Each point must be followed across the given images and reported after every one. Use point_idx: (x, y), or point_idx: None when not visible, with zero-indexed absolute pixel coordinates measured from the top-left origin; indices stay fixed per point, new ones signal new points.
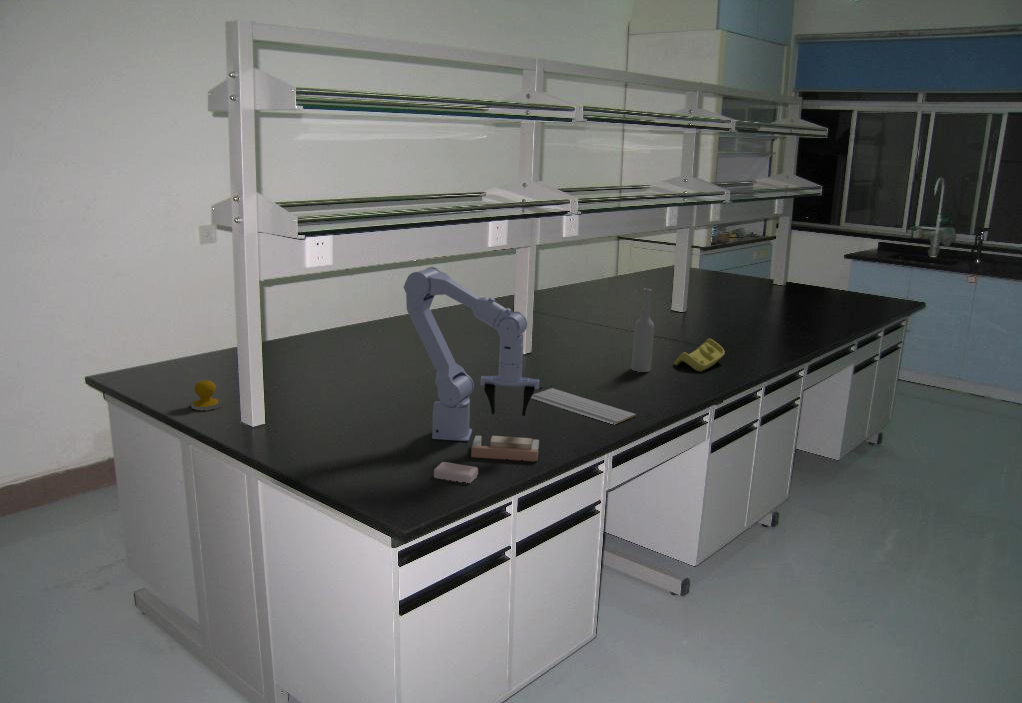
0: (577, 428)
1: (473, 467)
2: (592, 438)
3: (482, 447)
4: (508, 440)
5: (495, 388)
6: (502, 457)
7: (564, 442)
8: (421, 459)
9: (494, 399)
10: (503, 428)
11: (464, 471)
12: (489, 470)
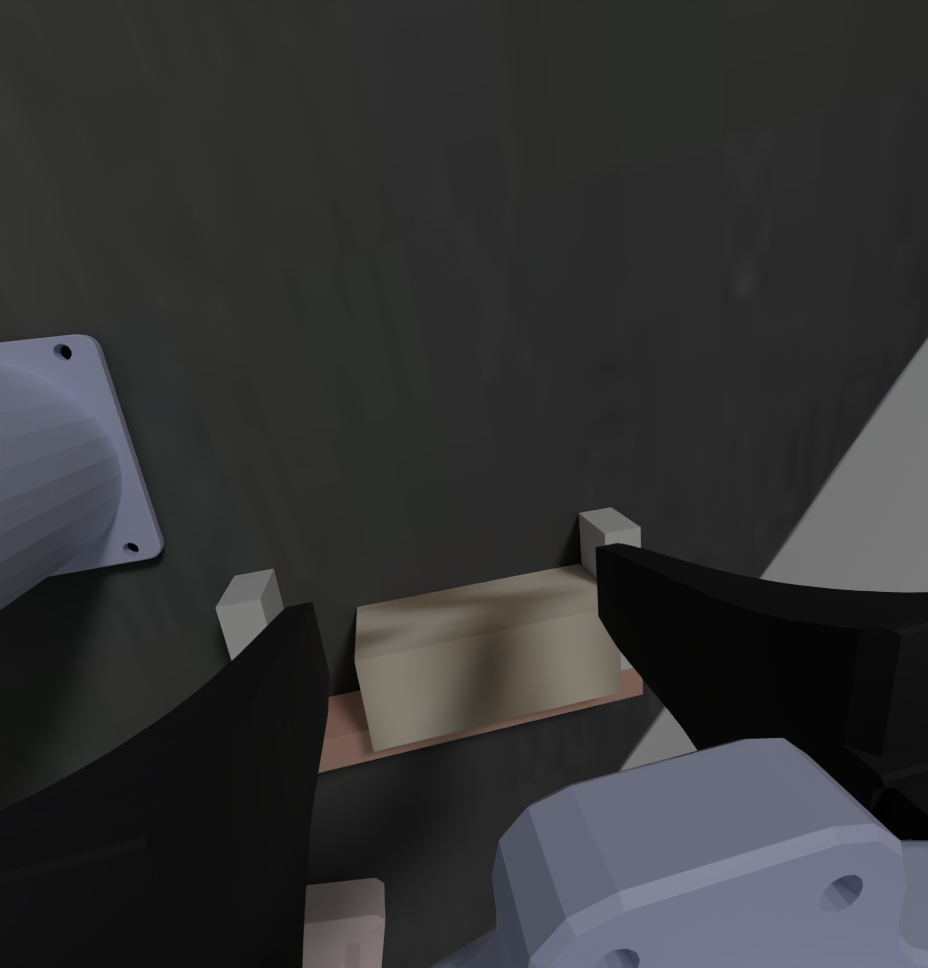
0: (838, 50)
1: (363, 937)
2: (902, 235)
3: (333, 759)
4: (480, 690)
5: (221, 796)
6: None
7: (745, 356)
8: None
9: (286, 745)
10: (321, 203)
11: (329, 954)
12: (419, 823)
